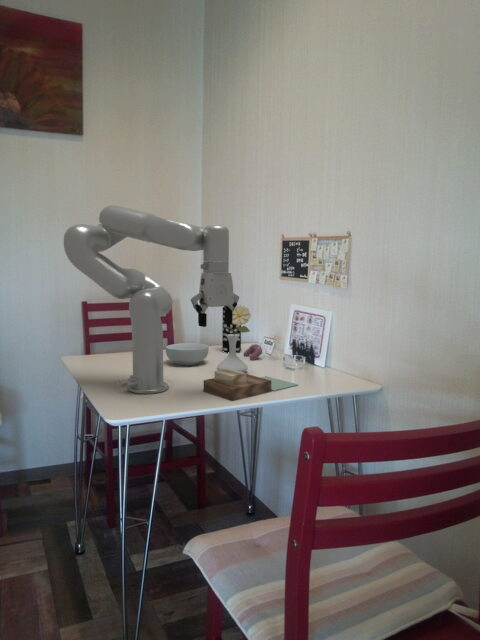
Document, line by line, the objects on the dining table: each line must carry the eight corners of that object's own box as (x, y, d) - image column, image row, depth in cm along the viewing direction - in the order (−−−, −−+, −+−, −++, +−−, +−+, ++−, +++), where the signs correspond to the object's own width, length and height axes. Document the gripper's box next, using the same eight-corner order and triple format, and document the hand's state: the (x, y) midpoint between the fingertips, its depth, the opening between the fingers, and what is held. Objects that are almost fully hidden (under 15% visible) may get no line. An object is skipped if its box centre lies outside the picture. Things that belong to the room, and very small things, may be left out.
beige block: (231, 386, 144) (231, 376, 144) (214, 380, 150) (214, 371, 150) (246, 382, 148) (246, 373, 148) (229, 377, 154) (229, 368, 154)
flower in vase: (211, 373, 175) (211, 304, 172) (226, 367, 185) (226, 302, 182) (243, 377, 169) (243, 306, 166) (257, 371, 179) (258, 304, 176)
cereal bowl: (212, 360, 199) (212, 343, 198) (202, 369, 183) (202, 350, 182) (173, 358, 202) (173, 341, 201) (159, 366, 185) (159, 348, 185)
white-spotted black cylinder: (222, 349, 222) (223, 306, 220) (241, 350, 222) (241, 306, 219) (221, 353, 214) (221, 308, 211) (240, 353, 214) (240, 308, 211)
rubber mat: (273, 391, 152) (273, 390, 151) (241, 382, 163) (241, 381, 163) (298, 385, 159) (298, 384, 159) (266, 377, 170) (266, 376, 170)
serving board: (232, 400, 141) (232, 389, 141) (203, 391, 151) (203, 380, 151) (271, 391, 152) (271, 380, 151) (241, 382, 162) (241, 372, 162)
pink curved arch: (258, 364, 199) (265, 348, 200) (249, 359, 198) (256, 344, 198) (251, 359, 209) (258, 344, 209) (242, 355, 207) (249, 340, 207)
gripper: (199, 268, 135) (199, 328, 137) (246, 268, 146) (245, 324, 148) (184, 267, 141) (184, 326, 143) (230, 267, 152) (230, 321, 154)
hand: (215, 325), depth 146 cm, fingers open, 9 cm apart
